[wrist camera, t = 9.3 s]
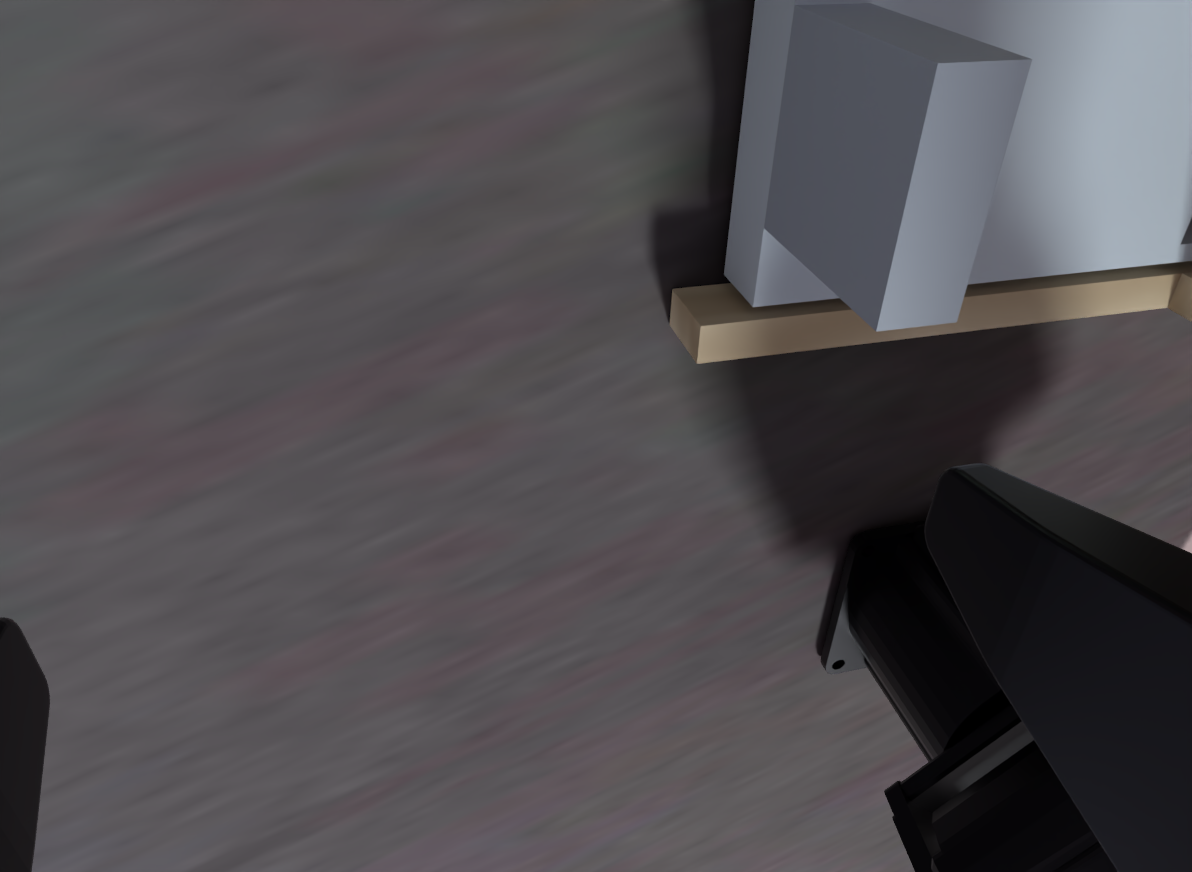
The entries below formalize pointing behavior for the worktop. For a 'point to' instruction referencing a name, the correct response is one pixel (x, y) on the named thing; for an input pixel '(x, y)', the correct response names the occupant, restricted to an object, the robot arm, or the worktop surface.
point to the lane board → (737, 330)
